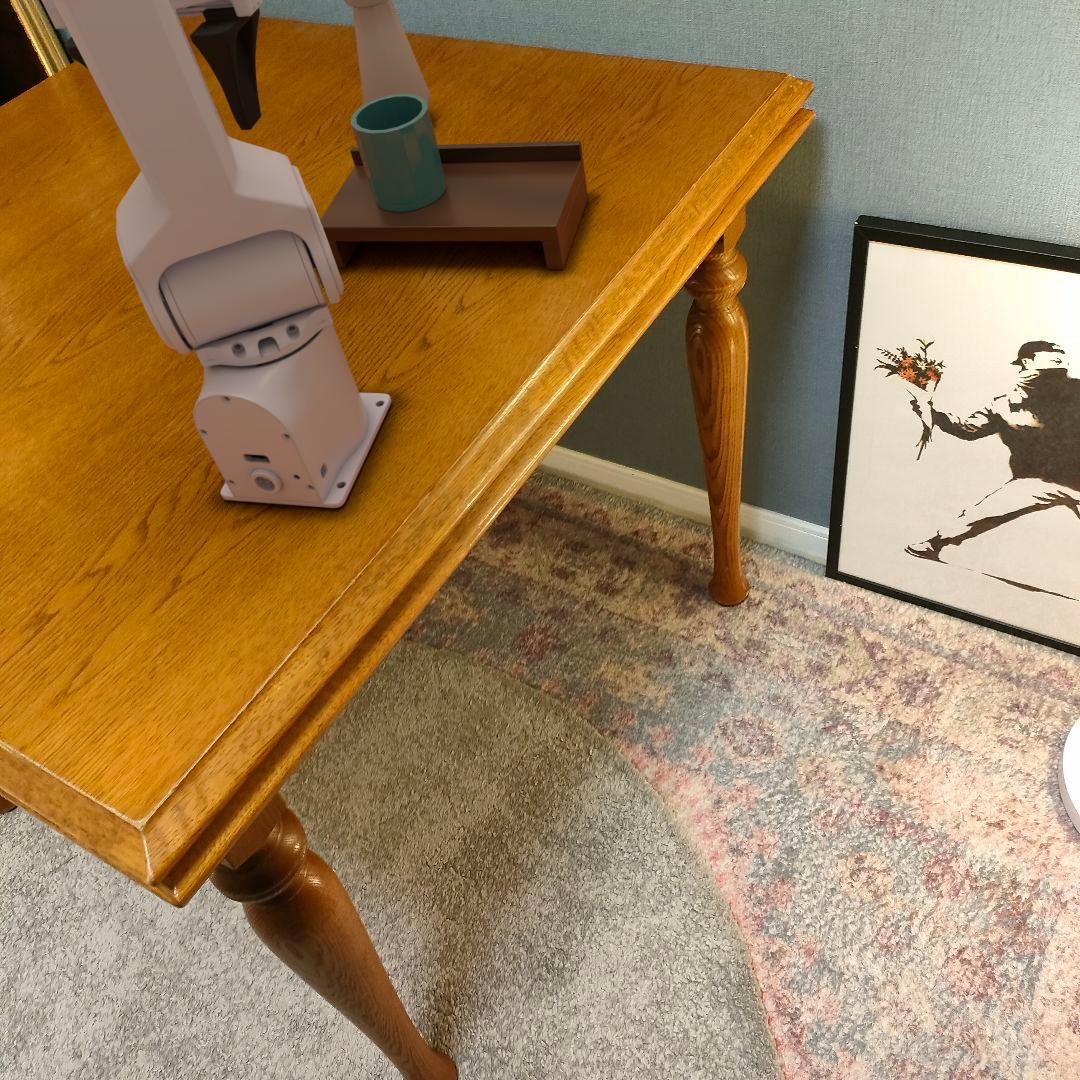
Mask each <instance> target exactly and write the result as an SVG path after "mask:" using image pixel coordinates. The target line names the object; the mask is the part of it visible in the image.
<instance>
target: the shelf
mask: <svg viewBox="0 0 1080 1080" xmlns="http://www.w3.org/2000/svg"><path fill="white" fill-rule="evenodd" d="M437 145H438V149H439V153H440V158H441V162H442V166H443V170H444V175H445V179H446V184H447V186H446V190H445V192H444V193H443V195H442V196H441V197H440V198H439V199H437V200H436V201H435V202H433V203H431V204H429V205H427V206H425V207H423V208H420V209H416V210H412V211H406V212H392V211H387V210H384V209H382V208H380V207H379V206H378V205H377V204H376V202H375V200H374V196H373V195H372V192H371V188H370V185H369V182H368V178H367V175H366V172H365V169H364V165H363V162H362V159H361V156H360V152H359V149H358V146H352V147H351V149H350V151H349V152H350V155H351V159H352V161H353V165H354V166H353V168H352V169H351V171H349V174H348V175H347V177H346V179H345V180H344V182H343V183H342V184H341V186H340V187H339V189H338V191H337V192H336V194H335V196H334V197H333V198H332V200H331V202H330V204H329V205H328V207H327V208H326V209H325V211H324V213H323V214H322V216H321V218H319V219H320V221H321V224H322V227H323V229H324V232H325V235H326V237H327V240H328V243H329V245H330V248H331V251H332V254H333V256H334V259H335V262H336V265H337V268H338V269H345V268H346V266H347V264H348V262H349V261H350V260H351V257H352V256H353V254H354V252H355V250H356V249H357V247H358V245H359V244H360V242H542V249H543V255H544V260H545V266H546V270H553V271H556V270H559V271H561V270H564V269H565V266H566V262H567V260H568V257H569V254H570V251H571V249H572V245H573V243H574V240H575V237H576V234H577V232H578V229H579V225H580V223H581V220H582V218H583V215H584V212H585V209H586V206H587V203H588V200H589V195H588V187H587V181H586V179H587V178H586V172H585V163H584V156H583V146H582V141H581V140H561V141H560V140H559V141H555V140H554V141H531V142H530V141H528V142H527V141H526V142H524V141H523V142H490V143H489V142H487V143H456V144H455V143H454V144H450V143H449V144H437Z"/></svg>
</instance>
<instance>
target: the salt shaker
mask: <svg viewBox="0 0 1080 1080" xmlns="http://www.w3.org/2000/svg"><path fill="white" fill-rule="evenodd" d="M343 1H344V3H345V5H346V6H349V7H351V8H352V14H353V22H354V23H353V25H354V31H355V40H356V49H357V51H356V52H357V60H358V68H359V69H358V70H359V75H360V76H359V78H360V85H361V86H360V87H361V94H362V95H361V96H362V106H363V105H364V104H366V103H368V102H370V101H373V100H375V99H377V98H380V97H384V96H388V95H393V94H413V95H418V96H421V97H422V98H423V99H425V100H426V101H427V104H428V108H429V109H430V105H431V99H432V98H431V92H430V90H429V87H428V84H427V82H426V80H425V78H424V75H423V73H422V71H421V68H420V66H419V63H418V60H417V58H416V56H415V54H414V51H413V49H412V46H411V44H410V42H409V39H408V36H407V35H406V32H405V29H404V27H403V25H402V23H401V22H402V21H401V20H400V18H399V15H398V13H397V11H396V8H395V6H394V3H393V0H343Z"/></svg>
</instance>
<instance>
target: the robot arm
mask: <svg viewBox="0 0 1080 1080" xmlns="http://www.w3.org/2000/svg"><path fill="white" fill-rule="evenodd" d="M41 2H42V4H43V6H44V8H45V10H46V12H47V15H48V17H49V19H50V20H51V22H52V24H53V26H54V28H55V30H68V33H69V35H70V36H71V37H70V38H69V39H67V40H66V41H65V43H64V47H65V50H66V51H67V53H68V55H69V57H71V58H72V59H73V60H75V61H76V62H78V63H79V64H81V66H83V67H84V68H86V69H87V70H88V71H89V73H90V75H91V77H92V79H93V81H94V83H95V84H96V86H97V88H98V90H99V92H100V94H101V96H102V98H103V100H104V102H105V104H106V106H107V108H108V109H109V111H110V113H111V115H112V117H113V119H114V121H115V123H116V125H117V127H118V129H119V130H120V132H121V135H122V137H123V138H124V140H125V143H126V145H127V147H128V148H129V150H130V152H131V154H132V156H133V158H134V160H135V162H136V164H137V165H138V168H139V169H140V171H139V173H138V175H137V176H136V178H135V179H134V181H133V182H132V184H131V185H130V186H129V188H128V190H127V191H126V193H125V194H124V195H123V197H122V199H121V200H120V202H119V203H118V206H117V207H116V210H115V211H116V212H115V220H116V223H115V233H116V240H117V243H118V247H119V251H120V254H121V257H122V260H123V263H124V266H125V268H126V270H127V272H128V273H129V275H130V277H131V279H132V281H133V284H134V286H135V288H136V291H137V294H138V296H139V299H140V301H141V303H142V305H143V307H144V310H145V311H146V314H147V317H148V318H149V320H150V322H151V324H152V326H153V327H154V329H155V331H156V333H157V334H158V336H159V338H160V340H162V342H163V343H164V345H166V346H167V347H168V348H170V349H172V350H174V351H177V353H179V354H181V355H182V356H183V355H187V354H191V353H193V351H194V353H195V355H196V356H197V359H198V360H199V362H200V364H201V367H203V381H202V385H201V389H200V392H199V395H198V397H197V399H196V402H195V404H194V407H193V411H192V419H193V424H194V427H195V430H196V432H197V433H198V435H199V437H200V439H201V441H202V443H203V444H204V446H205V448H206V450H207V451H208V453H209V455H210V457H211V458H212V460H213V462H214V464H215V465H216V468H217V469H218V471H219V473H220V475H221V476H222V478H223V480H224V484H223V486H222V487H221V489H220V492H219V493H220V496H221V497H222V499H223V500H226V501H235V502H248V503H249V502H250V503H262V504H273V505H290V506H291V505H292V506H300V507H301V506H303V507H314V508H315V507H316V508H329V509H337V508H340V507H342V506H343V505H344V504H345V503H346V500H347V499H348V496H349V494H350V492H351V490H352V488H353V486H354V484H355V481H356V480H357V477H358V475H359V473H360V471H361V469H362V467H363V464H364V463H365V461H366V458H367V456H368V453H369V452H370V449H371V448H372V445H373V443H374V441H375V438H376V437H377V435H378V432H379V430H380V428H381V426H382V425H383V424H382V423H383V421H384V419H385V417H386V415H387V413H388V411H389V409H390V407H391V404H392V398H391V395H390V394H388V393H384V392H383V393H381V392H380V393H379V392H359V389H358V386H357V384H356V381H355V378H354V376H353V373H352V371H351V367H350V366H349V363H348V360H347V357H346V354H345V352H344V350H343V349H344V348H343V347H342V344H341V342H340V339H339V336H338V333H337V331H336V328H335V326H334V323H335V322H334V320H333V317H332V314H331V311H330V309H329V306H328V303H327V301H326V298H325V295H324V292H323V290H322V289H324V291H325V294H326V296H327V300H328V302H329V304H330V306H332V305H335V304H338V303H339V302H341V297H342V296H343V295H342V294H343V293H344V290H345V286H344V282H343V280H342V276H341V273H340V270H339V268H337V265H336V262H335V259H334V256H333V254H332V251H331V248H330V245H329V243H328V240H327V237H326V235H325V232H324V229H323V227H322V224H321V221H320V219H321V218H320V217H319V214H318V211H317V208H316V206H315V203H314V200H313V198H312V196H311V194H310V192H308V190H307V188H306V185H305V181H304V180H303V177H302V175H301V172H300V170H299V168H298V167H297V166H296V165H292V163H291V161H290V159H289V157H288V156H287V155H285V154H284V153H281V152H278V151H275V150H272V149H269V148H266V147H262V146H258V145H256V144H252V143H248V142H246V141H242V140H240V139H236V138H234V137H231V136H229V135H228V133H227V131H226V129H225V127H224V124H223V122H222V119H221V117H220V115H219V111H218V109H217V107H216V105H215V102H214V100H213V97H212V95H211V92H210V90H209V87H208V85H207V82H206V80H205V78H204V76H203V74H202V71H201V68H200V66H199V63H198V61H197V59H196V56H195V54H194V51H193V49H192V47H191V44H190V42H189V40H188V37H187V34H186V32H185V30H184V27H183V25H182V22H181V20H180V18H179V17H181V18H182V17H189V16H190V17H192V16H203V18H204V20H205V21H203V22H201V23H200V24H199V25H198V26H197V27H196V29H194V30H193V31H192V33H190V35H189V38H190V40H191V42H192V44H193V45H194V46H195V47H196V48H197V50H198V51H199V53H200V54H201V56H202V57H203V58H204V59H205V61H206V63H207V64H208V67H209V68H210V69H211V71H212V72H213V74H214V77H216V79H217V82H218V84H219V85H220V87H221V89H222V91H223V94H224V97H225V99H226V101H227V104H228V107H229V109H230V111H231V114H232V116H233V118H234V119H235V122H236V124H237V125H238V127H239V129H240V130H241V131H250V130H252V129H253V127H255V126H256V124H257V122H259V120H260V119H261V117H262V110H261V105H260V98H259V89H258V81H257V64H256V63H257V61H256V60H257V58H256V57H257V53H256V52H257V40H258V28H259V22H260V14H261V11H260V10H261V9H260V7H261V6H262V5H263V3H264V0H41ZM315 271H316V272H315ZM319 281H320V282H319ZM320 284H321V285H320Z"/></svg>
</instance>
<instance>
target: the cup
mask: <svg viewBox="0 0 1080 1080" xmlns="http://www.w3.org/2000/svg"><path fill="white" fill-rule="evenodd" d="M431 116H432V115H431V112H430V107H429V108H428V104H427V101H426V100H425V99H423V98H422V97H421V96H418V95H413V94H393V95H388V96H384V97H380V98H377V99H375V100H373V101H370V102H368V103H366V104H364V105H363V104H362V105H361V106H360V107H359V108H357V109H356V110H355V111H354V112H353V114H352V115H351V117H350V125H351V129H352V132H353V133H352V134H353V135H354V138H355V142H356V145H357V146H356V147H358V149H359V152H360V156H361V159H362V162H363V165H364V169H365V172H366V175H367V178H368V182H369V185H370V188H371V192H372V195H373V196H374V200H375V202H376V204H377V205H378V206H379V207H380V208H382V209H384V210H387V211H392V212H406V211H412V210H416V209H420V208H423V207H425V206H427V205H429V204H431V203H433V202H435V201H436V200H437V199H439V198H440V197H441V196H442V195H443V193H444V192H445V190H446V186H447V184H446V179H445V175H444V170H443V166H442V162H441V158H440V153H439V149H438V145H439V144H438V141H437V137H436V133H435V129H434V124H433V121H432V117H431Z"/></svg>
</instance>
